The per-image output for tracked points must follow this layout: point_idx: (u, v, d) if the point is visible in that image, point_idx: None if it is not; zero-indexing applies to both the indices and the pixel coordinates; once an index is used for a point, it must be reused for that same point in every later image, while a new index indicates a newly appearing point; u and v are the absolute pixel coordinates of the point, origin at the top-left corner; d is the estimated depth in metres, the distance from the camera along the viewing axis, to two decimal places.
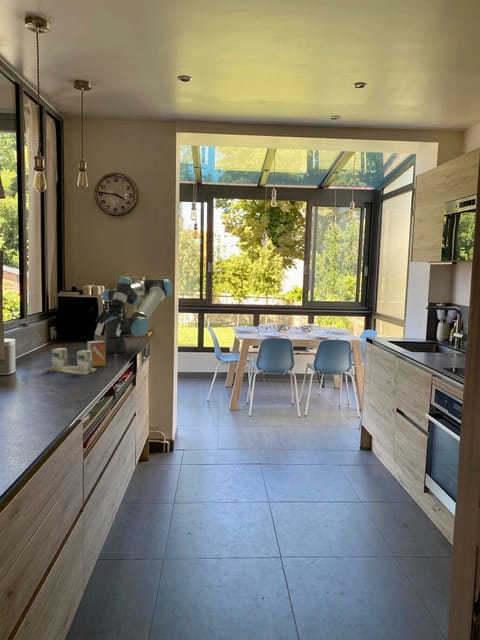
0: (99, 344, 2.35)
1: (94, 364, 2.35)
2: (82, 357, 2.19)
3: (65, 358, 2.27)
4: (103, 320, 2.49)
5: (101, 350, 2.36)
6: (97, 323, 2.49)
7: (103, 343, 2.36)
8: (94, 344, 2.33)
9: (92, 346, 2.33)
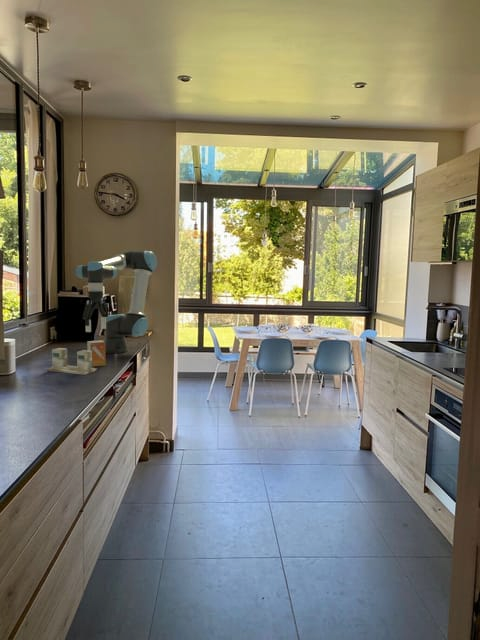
0: (99, 344, 2.35)
1: (94, 364, 2.35)
2: (82, 357, 2.19)
3: (65, 358, 2.27)
4: (101, 313, 2.41)
5: (101, 350, 2.36)
6: None
7: (103, 343, 2.36)
8: (94, 344, 2.33)
9: (92, 346, 2.33)
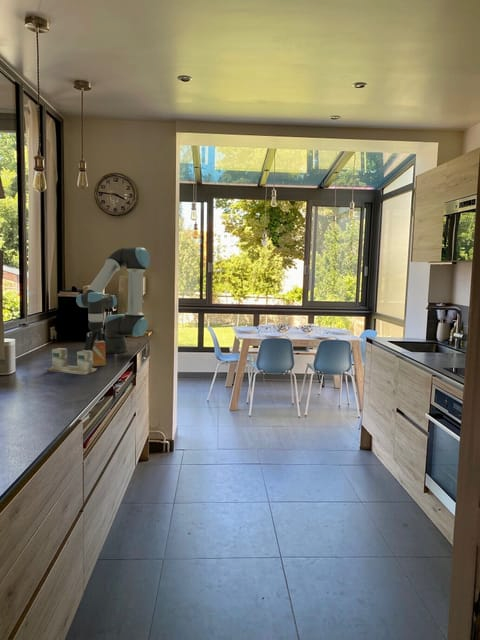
0: (99, 344, 2.35)
1: (94, 364, 2.35)
2: (82, 357, 2.19)
3: (65, 358, 2.27)
4: None
5: (101, 350, 2.36)
6: None
7: (103, 343, 2.36)
8: (94, 344, 2.33)
9: None
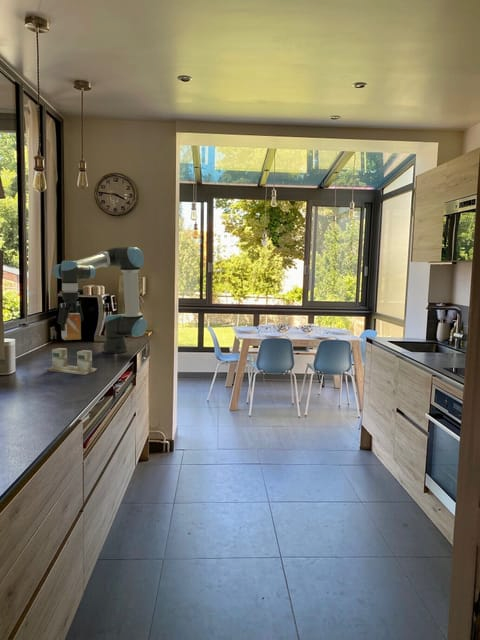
0: (74, 316, 2.20)
1: (68, 337, 2.19)
2: (82, 357, 2.19)
3: (65, 358, 2.27)
4: None
5: (76, 323, 2.21)
6: None
7: (78, 315, 2.21)
8: (68, 315, 2.18)
9: None
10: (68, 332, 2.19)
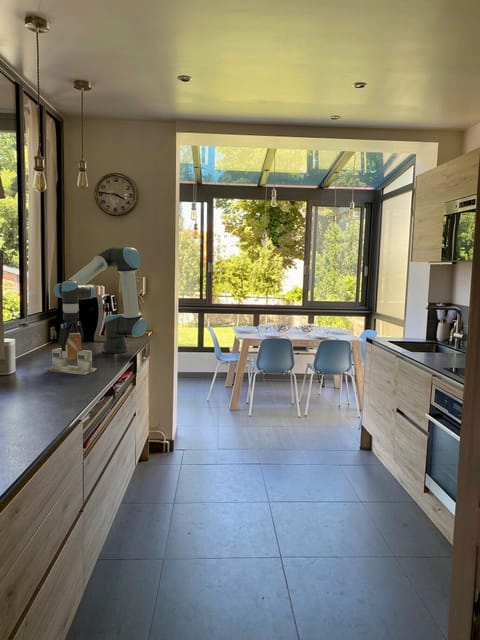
0: (74, 336, 2.21)
1: (69, 357, 2.21)
2: (82, 357, 2.19)
3: None
4: None
5: (77, 343, 2.22)
6: None
7: (78, 335, 2.22)
8: (69, 336, 2.19)
9: None
10: (69, 352, 2.20)
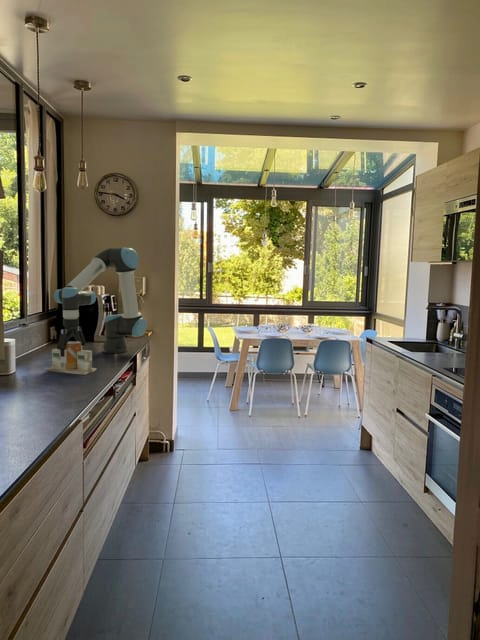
0: (74, 345, 2.22)
1: (69, 366, 2.21)
2: (82, 357, 2.19)
3: None
4: None
5: None
6: None
7: (79, 344, 2.23)
8: (69, 345, 2.20)
9: (67, 348, 2.20)
10: (69, 361, 2.21)
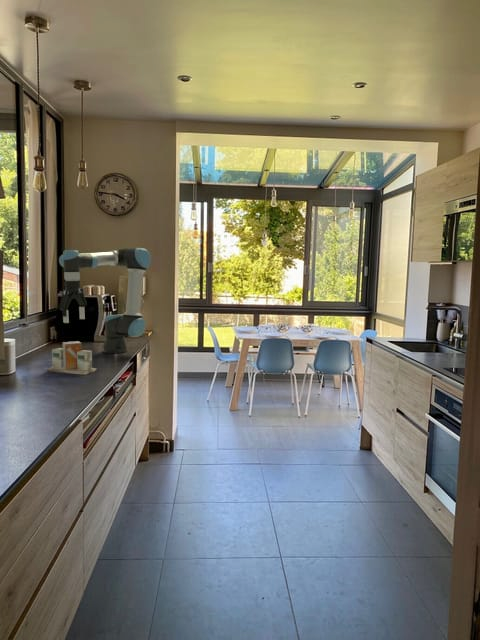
0: (75, 345, 2.22)
1: (69, 366, 2.21)
2: (82, 357, 2.19)
3: None
4: (79, 303, 2.35)
5: None
6: None
7: (79, 344, 2.23)
8: (69, 345, 2.20)
9: (67, 348, 2.20)
10: (69, 361, 2.21)
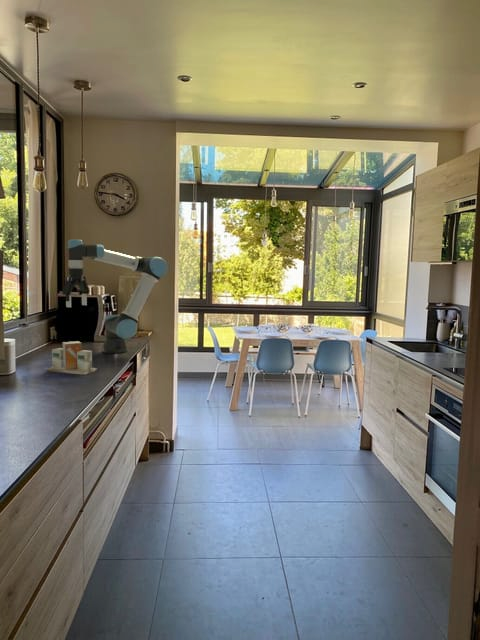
0: (75, 345, 2.22)
1: (69, 366, 2.21)
2: (82, 357, 2.19)
3: None
4: (82, 289, 2.50)
5: None
6: None
7: (79, 344, 2.23)
8: (69, 345, 2.20)
9: (67, 348, 2.20)
10: (69, 361, 2.21)
